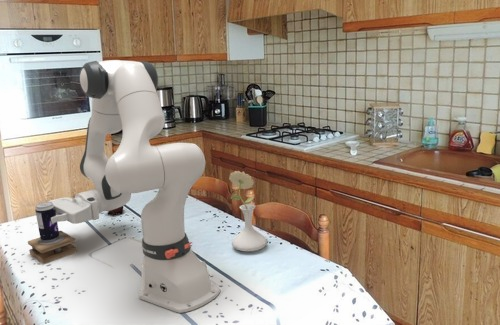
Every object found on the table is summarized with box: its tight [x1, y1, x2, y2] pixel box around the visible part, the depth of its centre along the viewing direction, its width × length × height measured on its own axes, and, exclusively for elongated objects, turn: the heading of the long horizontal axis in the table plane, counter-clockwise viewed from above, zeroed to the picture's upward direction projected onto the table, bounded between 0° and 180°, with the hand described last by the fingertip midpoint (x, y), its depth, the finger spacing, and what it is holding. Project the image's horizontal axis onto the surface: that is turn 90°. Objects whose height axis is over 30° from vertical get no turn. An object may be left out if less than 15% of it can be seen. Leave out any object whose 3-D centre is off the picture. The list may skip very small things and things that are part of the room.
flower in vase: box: [228, 170, 268, 252], centre depth 143 cm, size 13×11×25 cm
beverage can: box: [34, 201, 60, 242], centre depth 145 cm, size 6×6×12 cm
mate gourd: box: [107, 205, 125, 217], centre depth 180 cm, size 8×8×15 cm
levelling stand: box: [27, 230, 79, 265], centre depth 147 cm, size 11×11×5 cm
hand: (44, 216), depth 144 cm, fingers open, 8 cm apart
